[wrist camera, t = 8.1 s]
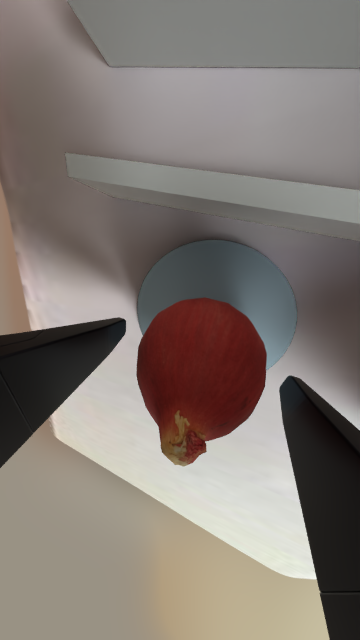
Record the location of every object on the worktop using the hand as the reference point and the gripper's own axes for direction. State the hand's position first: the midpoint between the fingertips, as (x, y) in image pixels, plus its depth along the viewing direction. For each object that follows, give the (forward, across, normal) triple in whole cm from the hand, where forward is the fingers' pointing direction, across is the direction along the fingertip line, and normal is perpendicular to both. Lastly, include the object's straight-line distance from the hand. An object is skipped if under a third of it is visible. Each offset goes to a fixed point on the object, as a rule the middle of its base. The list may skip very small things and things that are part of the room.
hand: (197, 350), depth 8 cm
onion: (+3, 0, 0) cm, 3 cm away
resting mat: (+4, 0, 0) cm, 4 cm away
